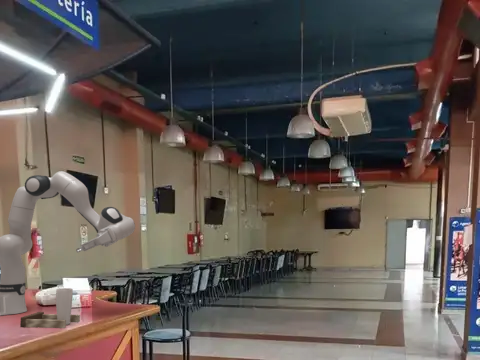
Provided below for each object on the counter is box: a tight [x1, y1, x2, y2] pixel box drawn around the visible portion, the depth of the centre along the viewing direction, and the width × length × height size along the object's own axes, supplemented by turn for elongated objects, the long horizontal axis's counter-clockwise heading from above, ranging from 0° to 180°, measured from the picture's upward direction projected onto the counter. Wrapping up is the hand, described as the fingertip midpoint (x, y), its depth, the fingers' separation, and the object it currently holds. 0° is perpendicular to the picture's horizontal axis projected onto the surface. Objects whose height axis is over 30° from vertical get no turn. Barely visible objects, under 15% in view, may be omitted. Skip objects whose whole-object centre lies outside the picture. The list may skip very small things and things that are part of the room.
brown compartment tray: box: [19, 311, 81, 329], centre depth 197 cm, size 20×13×4 cm, turn 81°
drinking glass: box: [55, 287, 74, 326], centre depth 196 cm, size 7×7×15 cm
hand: (80, 249), depth 210 cm, fingers open, 8 cm apart
